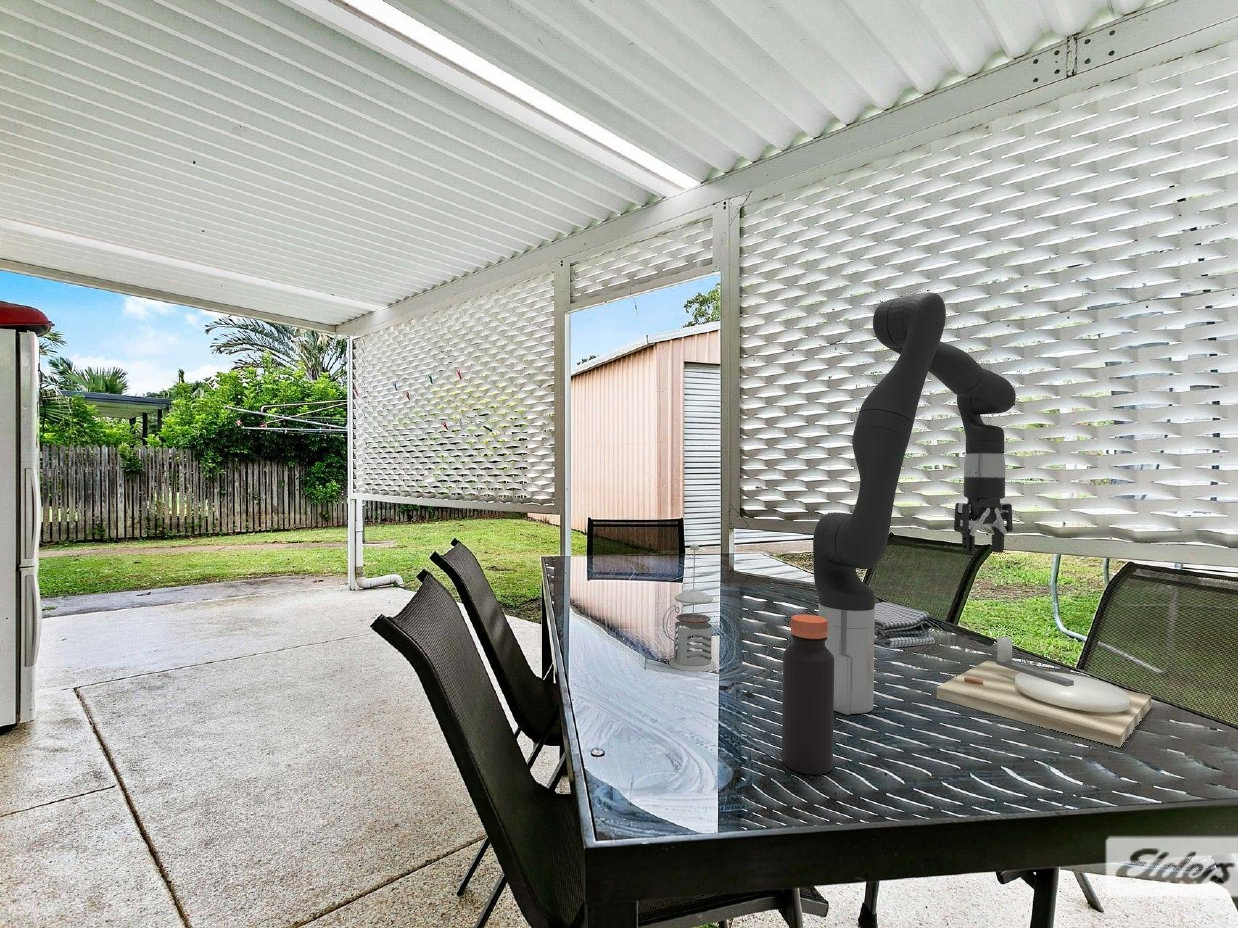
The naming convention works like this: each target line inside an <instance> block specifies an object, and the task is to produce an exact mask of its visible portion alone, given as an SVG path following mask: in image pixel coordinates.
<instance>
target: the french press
mask: <svg viewBox="0 0 1238 928" xmlns="http://www.w3.org/2000/svg"><path fill="white" fill-rule="evenodd" d="M689 550H691V551H693V576H695V567H696V566H695V564H696V563H695V562H696V560H695V559H696V551H699V550H700V545H698V544H696V543H693V544H691V545H690V546H689ZM692 581H693V584H692V585H693V589H691V590H684V591H682V592H680V593H678V594H676V595H675V596H674V600H675V602H677V603H682V604H690V605H692V613H691V612H690V613H689V612H688V613H687V612H686V613H680V610H681V609H680V607H679V606H676V605H675V604H673V605H670V606H669V607H668V608H667V610H665V613H664V614H663V618H662V629H663V631H662V632H663V634H664V635H665V637H666V638H667V639H669V640H671V641H672V642H673V657H672V659H670V661H669V662H668V663H669V665H670V666H671V667H672V668H674V669H676V670H681V671H684V672H695V673H696V672H707V671H712V670H714V669H715V668H716V667H717V664H716V662H715V661H713V660H712V639H713V637H712V636H713V635H712V631H713V630H712V629H713V624H711V623H709V622H710V621H711V616H709V615H706V614H700V613H695V610H694V609H695V605H702V604H703V605H704V604H710V603H712V602H713V600H714V598H713V597H712V596H710V595H709V594H707V593H706V592H703V591H701V590H696V589H695V578H693V580H692ZM673 607H674V608H673ZM671 608H673V609H672V610H671V611H669V610H670V609H671ZM677 609H678V611H677ZM674 611H675V613H676V614H677V615H676V617H675V619H677V621H676V622H674V636H673V637H674V639H673V637H671V636H670V633H669V629H668V623H669V619H670V616H671V614H672V613H673V612H674ZM668 612H669V614H668V616H667V619H666V615H667V613H668ZM665 619H666V623H665ZM665 624H666V625H665ZM683 627H684V628H683ZM685 627H686V628H685ZM691 636H692V638H691ZM691 643H693V644H691ZM692 649H694V650H692Z"/></svg>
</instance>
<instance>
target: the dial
mask: <svg viewBox="0 0 1238 928" xmlns="http://www.w3.org/2000/svg"><path fill="white" fill-rule="evenodd" d="M996 641H997V642H996V643H997V645H996V646H997V647H996V648H997V650H996V651H997V653H996V655H997V656H996V658H997V659H995V662H996V664H997V665H1000V666H1003V667H1007V668H1010V669H1013V670H1016V671H1019V672H1021V673H1018V674H1017V675H1016V676H1015V686H1016V688H1017V689H1018V690H1019V691H1020V692H1022V693H1024V694H1026V695H1028V696H1030V697H1032V698H1035V699H1037V700H1040V701H1043V702H1047V703H1050V704H1054V705H1058V706H1062V707H1066V708H1071V709H1077V710H1083V711H1091V712H1106V713H1112V712H1122V711H1126V710H1128V709H1129V708H1130V696H1129V694H1128V693H1126V692H1125V691H1123V690H1124V689H1122V688H1120V687H1118V686H1115V685H1113V684H1110V683H1107V682H1104V681H1101V680H1097V679H1094V678H1090V677H1086V676H1082V675H1081V676H1080V675H1077V674H1076V675H1075V674H1072V673H1071V674H1070V673H1064V672H1059V671H1058V672H1057V671H1047V670H1046V671H1045V670H1041V669H1037V668H1034V667H1031V666H1028V665H1024V664H1021V663H1017V662H1014V661H1013V637H1009V636H1002V635H1000V636H999V635H998V636H997V639H996Z"/></svg>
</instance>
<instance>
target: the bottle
mask: <svg viewBox="0 0 1238 928" xmlns="http://www.w3.org/2000/svg"><path fill="white" fill-rule="evenodd" d="M827 636H828V620H827V619H825V618H823V617H820V616H819V615H815V614H814V615H813V614H795V615H792V616H791V617H790V637H791V638H792V643H791V644H790V645H789V646H788V647H786V648H785V650H784V651H783V653H782V654H783V655H782V656H783V658H782V710H781V712H782V714H781V715H782V717H781V720H782V721H781V724H782V725H781V761H782V762H783V764H784V765H785V766H786V767H787V768H789V769H790V770H792V771H794V772H798V773H800V774H804V775H812V776H813V775H814V776H815V775H816V776H818V775H819V776H820V775H824V774H827V773H829V772H831V770H832V769H833V767H834V716H835V715H834V656H833V655H832V653H831V652H830V651H829V650H828V649H827V648H826V646H825V641H826V640H827Z"/></svg>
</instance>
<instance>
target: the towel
mask: <svg viewBox="0 0 1238 928" xmlns="http://www.w3.org/2000/svg"><path fill="white" fill-rule="evenodd" d="M930 618H931V615H930V614H929V612H928V611H924V610H918V609H914V608H910V607H907V606H904V605H900V604H896V603H892V602H888V601H886V602H885V601H882V602H877V603H876V602H875V625H874V644H877V645H880V646H882V647H883V646H884V647H885V648H887V649H895V648H904V647H905V648H906V647H913V646H916V647H917V646H926V645H934V644H935V642H936V641H935V639H934V637H932V636H931V635H930V634H931V633H932V632H931V631H929V630H931V629H932V628H933V625H932V624H931V623H930V622H928V621H926V620H927V619H930Z"/></svg>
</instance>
